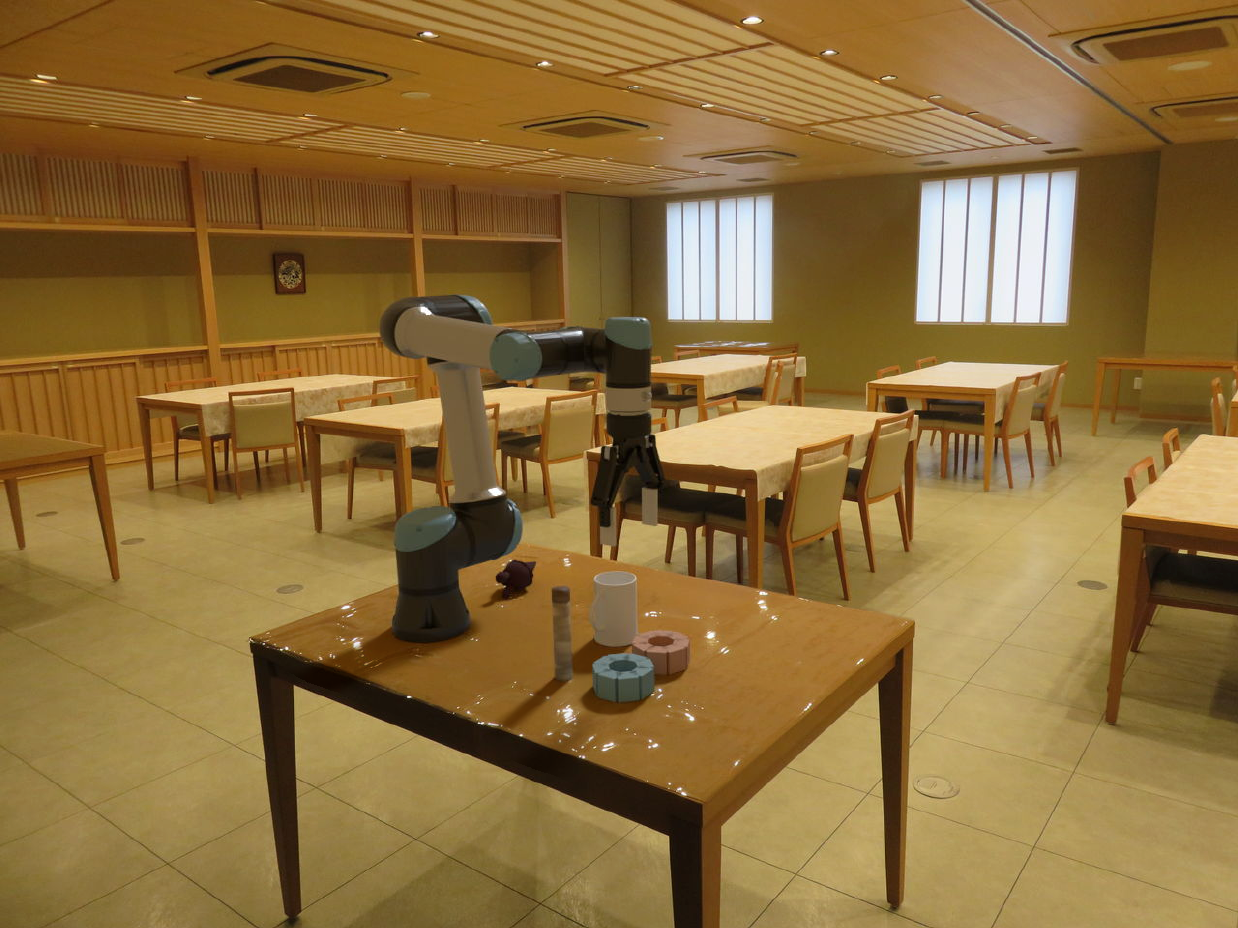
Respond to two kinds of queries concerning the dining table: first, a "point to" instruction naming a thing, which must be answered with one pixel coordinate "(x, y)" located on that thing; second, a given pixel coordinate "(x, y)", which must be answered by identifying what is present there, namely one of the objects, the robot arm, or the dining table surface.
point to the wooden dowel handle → (562, 633)
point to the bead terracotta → (663, 650)
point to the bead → (623, 677)
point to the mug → (614, 608)
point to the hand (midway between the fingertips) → (629, 534)
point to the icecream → (515, 576)
